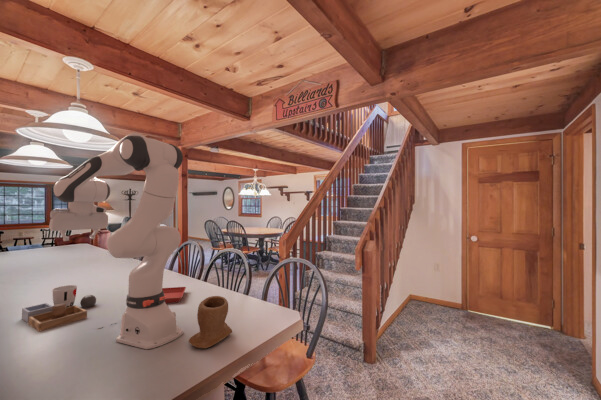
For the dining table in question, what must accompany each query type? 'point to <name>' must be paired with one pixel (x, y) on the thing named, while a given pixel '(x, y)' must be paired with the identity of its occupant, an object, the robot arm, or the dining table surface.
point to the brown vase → (211, 322)
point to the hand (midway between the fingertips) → (79, 239)
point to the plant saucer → (173, 294)
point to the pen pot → (35, 311)
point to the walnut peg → (58, 311)
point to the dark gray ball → (88, 301)
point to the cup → (64, 295)
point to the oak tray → (46, 322)
